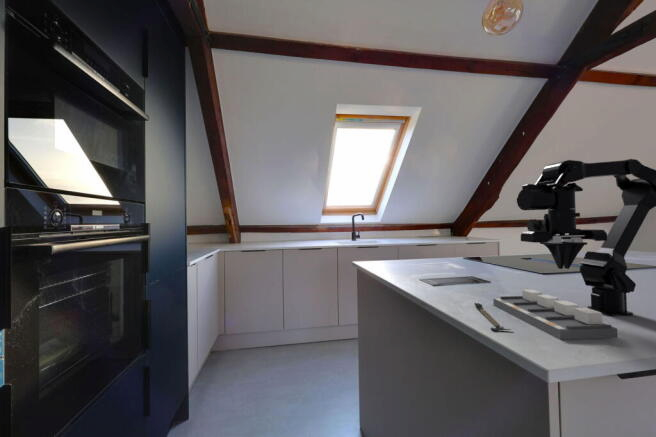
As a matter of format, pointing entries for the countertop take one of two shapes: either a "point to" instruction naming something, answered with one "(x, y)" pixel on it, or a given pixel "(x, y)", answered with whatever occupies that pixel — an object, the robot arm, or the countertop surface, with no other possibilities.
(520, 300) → the switch bank
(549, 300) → the tab
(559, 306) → the white rectangular block
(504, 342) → the countertop surface
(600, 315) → the off-white short block
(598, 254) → the robot arm
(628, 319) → the countertop surface
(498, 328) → the claw hammer
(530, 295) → the white rectangular block
